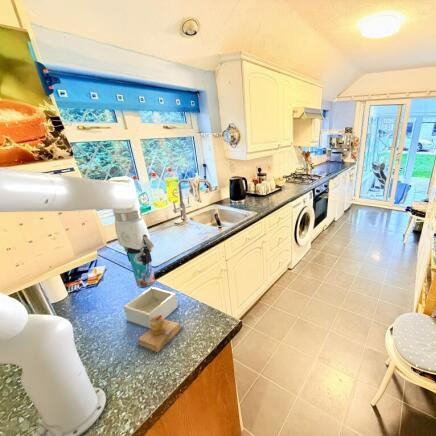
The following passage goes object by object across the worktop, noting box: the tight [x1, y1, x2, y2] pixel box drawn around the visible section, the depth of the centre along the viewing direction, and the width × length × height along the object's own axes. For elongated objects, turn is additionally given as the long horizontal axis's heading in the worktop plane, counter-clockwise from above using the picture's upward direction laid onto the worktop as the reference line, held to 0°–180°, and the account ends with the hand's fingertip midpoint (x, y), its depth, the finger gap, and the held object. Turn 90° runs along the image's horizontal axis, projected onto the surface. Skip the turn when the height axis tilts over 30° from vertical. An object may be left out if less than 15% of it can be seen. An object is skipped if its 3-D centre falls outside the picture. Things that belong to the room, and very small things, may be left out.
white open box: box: [123, 286, 179, 329], centre depth 93 cm, size 13×13×7 cm
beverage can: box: [128, 247, 156, 289], centre depth 85 cm, size 6×6×15 cm
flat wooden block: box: [137, 318, 181, 353], centre depth 83 cm, size 10×8×3 cm
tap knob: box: [150, 315, 166, 336], centre depth 81 cm, size 4×4×5 cm
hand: (140, 261), depth 84 cm, fingers closed on beverage can, 5 cm apart
